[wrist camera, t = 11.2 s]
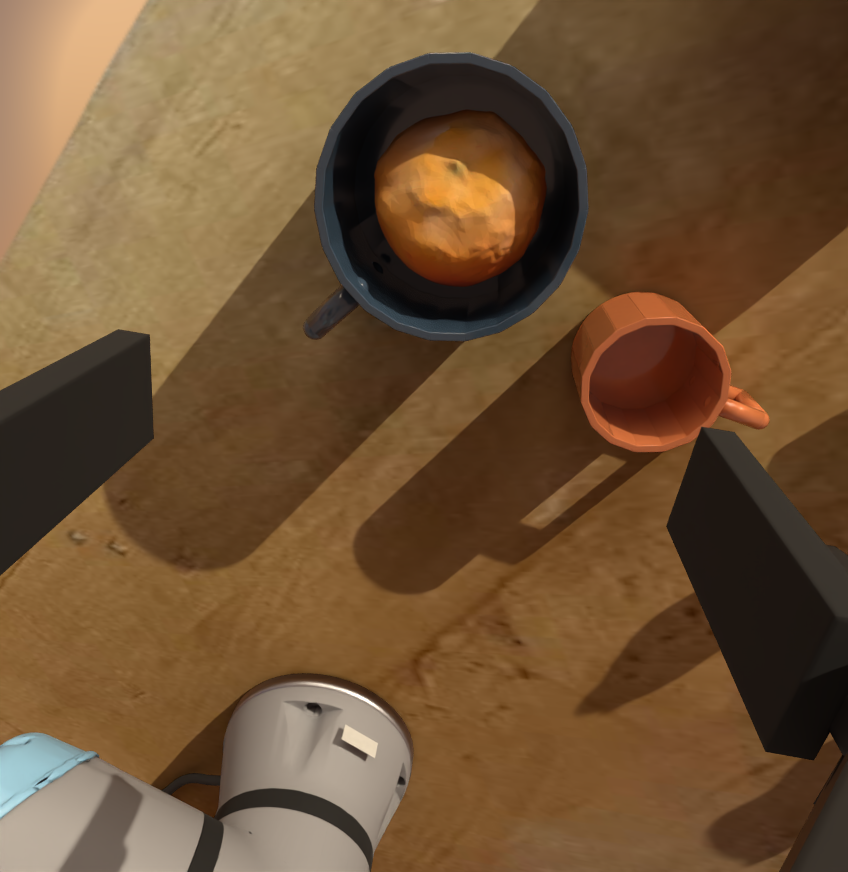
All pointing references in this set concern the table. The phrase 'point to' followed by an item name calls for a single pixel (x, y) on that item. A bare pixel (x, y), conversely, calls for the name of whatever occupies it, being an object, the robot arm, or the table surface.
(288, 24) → the table surface
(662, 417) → the small cup
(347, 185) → the big cup
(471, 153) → the fruit
